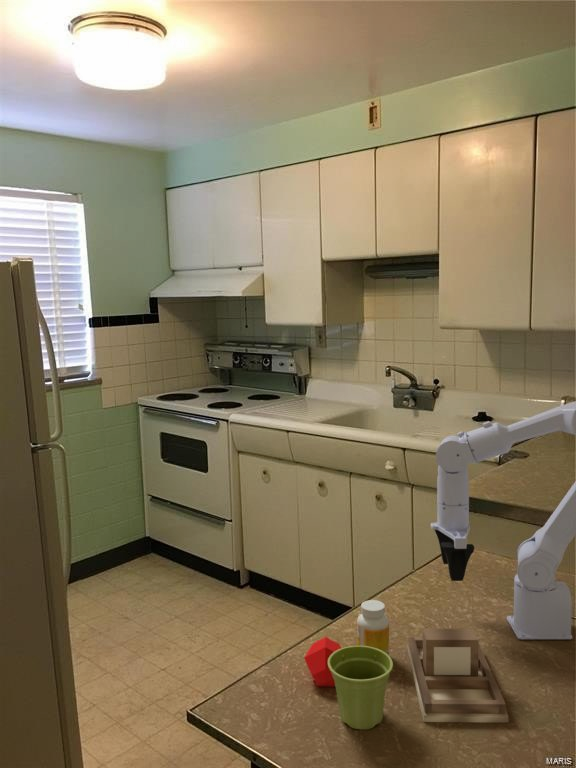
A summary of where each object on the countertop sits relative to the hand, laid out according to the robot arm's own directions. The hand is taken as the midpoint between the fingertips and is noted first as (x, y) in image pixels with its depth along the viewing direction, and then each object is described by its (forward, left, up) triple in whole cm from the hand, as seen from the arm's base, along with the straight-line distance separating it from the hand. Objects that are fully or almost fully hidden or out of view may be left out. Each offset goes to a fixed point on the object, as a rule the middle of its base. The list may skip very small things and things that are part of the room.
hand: (452, 571), depth 124 cm
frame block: (+4, +21, -8) cm, 23 cm away
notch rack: (+4, +21, -9) cm, 23 cm away
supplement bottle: (+16, +14, -10) cm, 23 cm away
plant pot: (+19, +30, -10) cm, 37 cm away
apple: (+24, +20, -10) cm, 33 cm away
